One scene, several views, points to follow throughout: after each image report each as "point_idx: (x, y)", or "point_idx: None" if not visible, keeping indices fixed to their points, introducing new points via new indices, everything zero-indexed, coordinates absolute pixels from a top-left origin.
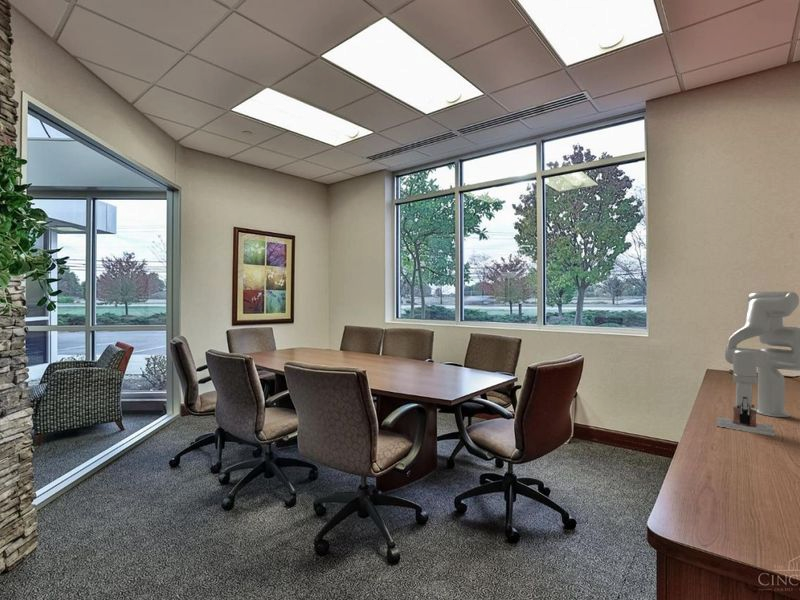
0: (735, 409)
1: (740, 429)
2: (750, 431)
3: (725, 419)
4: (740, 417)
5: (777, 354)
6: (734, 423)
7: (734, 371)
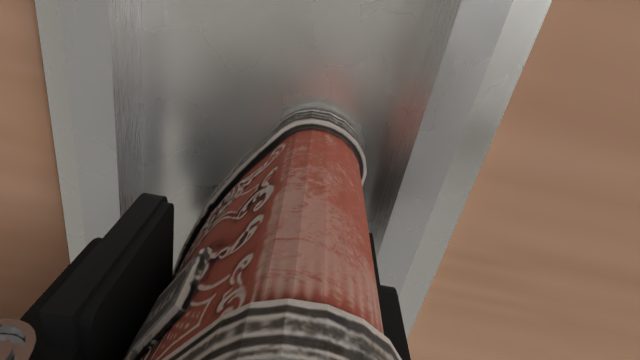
0: (216, 333)
1: (66, 141)
2: (68, 227)
3: (444, 39)
4: (90, 259)
5: None
6: (277, 131)
7: None
